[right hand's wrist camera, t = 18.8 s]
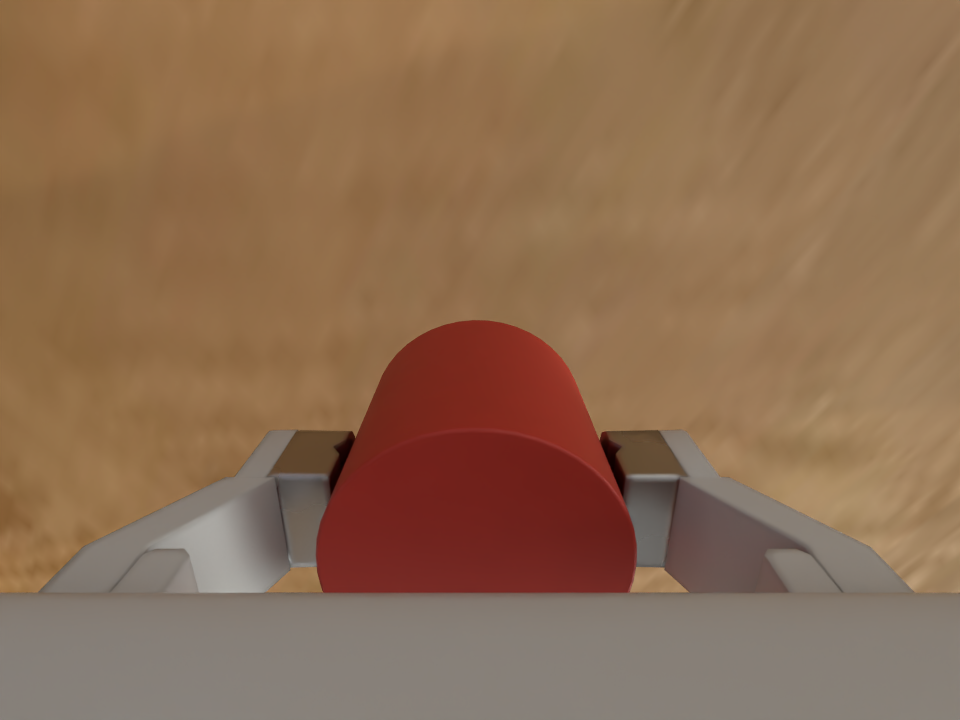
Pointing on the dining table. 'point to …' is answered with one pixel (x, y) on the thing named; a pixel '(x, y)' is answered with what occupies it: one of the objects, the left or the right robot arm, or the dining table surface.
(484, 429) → the can
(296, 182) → the dining table surface
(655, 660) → the right robot arm
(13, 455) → the dining table surface
